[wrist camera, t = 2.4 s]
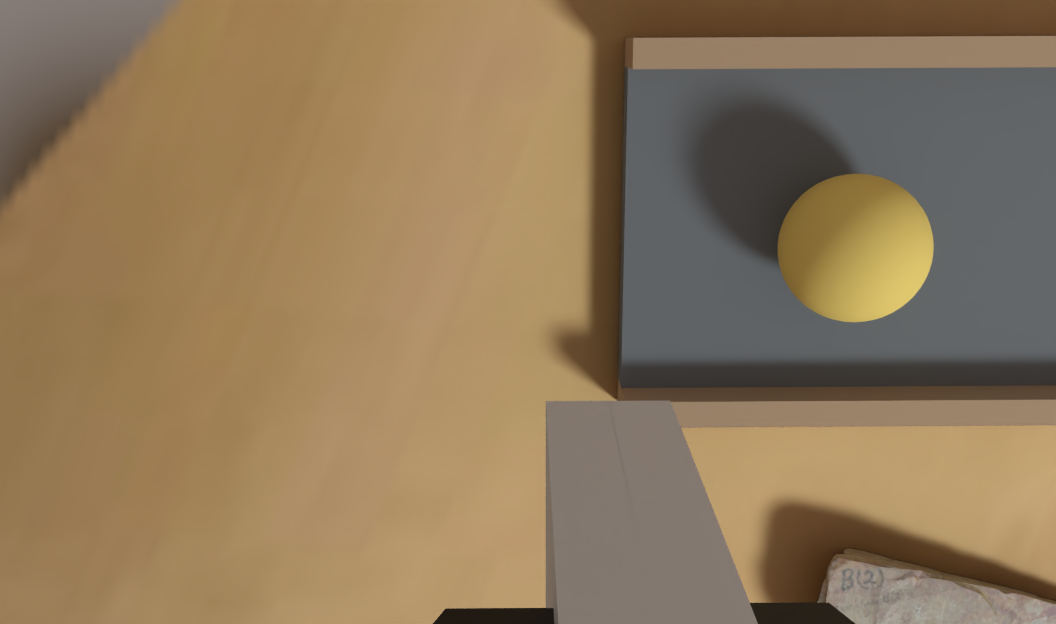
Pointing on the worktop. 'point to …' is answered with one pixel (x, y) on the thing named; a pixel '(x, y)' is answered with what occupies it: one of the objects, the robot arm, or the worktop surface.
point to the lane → (796, 166)
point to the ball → (855, 247)
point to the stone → (923, 595)
